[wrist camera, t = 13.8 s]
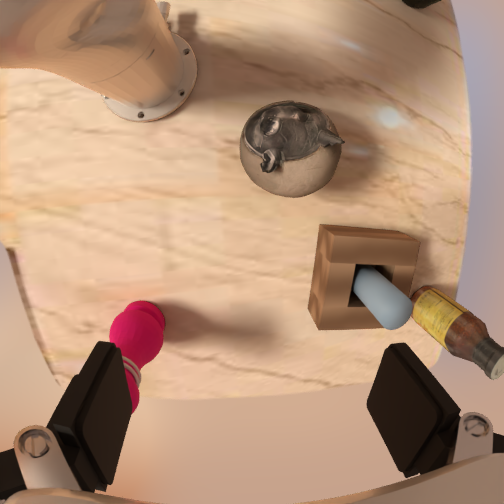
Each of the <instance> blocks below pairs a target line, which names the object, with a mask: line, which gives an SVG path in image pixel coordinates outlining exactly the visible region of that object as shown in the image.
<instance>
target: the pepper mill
mask: <svg viewBox="0 0 504 504" xmlns="http://www.w3.org/2000/svg"><path fill="white" fill-rule="evenodd" d="M164 327H165V319H164V316H163V314H162V313H161V311H160V310H159V309H158V308H157V307H156V306H155V305H153V304H151V303H149V302H145V301H136V302H133V303H131V304H129V305H128V306H127V307H126V309H125V310H124V312H122V313H120V314H119V315H118V316H117V317H116V318H115V319H114V321H113V323H112V325H111V328H110V335H109V338H110V342H112V343H115V345H116V347H119V348H120V349H121V353H122V358H123V363H124V368H125V373H126V378H127V383H128V387H129V391H130V396H131V400H132V406H133V407H132V413H133V412H134V411H135V409H136V408H137V406H138V403H139V390H138V388H139V384H140V382H141V373H140V370H141V368H142V367H143V366H144V365H145V364H147V363H148V362H150V361H152V360H153V359H154V358H155V357H156V356H157V354H158V353H159V351H160V349H161V347H162V345H163V331H164Z"/></svg>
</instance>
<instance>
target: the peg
mask: <svg viewBox="0 0 504 504" xmlns="http://www.w3.org/2000/svg"><path fill="white" fill-rule="evenodd" d="M351 289H352V290H353V292H354V293H355V294H356V295H357V296H358V297H359V299H360V300H361V301H362V302H363V303H364V304H365V306H366V307H367V308H368V309H369V310H370V312H371V313H372V314H373V315H374V316H375V318H376V319H377V320H378V321H379V322H380V324H381V325H382V326H383V327H384V328H386V329H388V330H394V329H397V328H399V327H401V326H403V325H404V324H405V323H406V322H407V321H408V319H409V318H410V316H411V313H412V309H413V306H412V302H411V300H410V299H409V298H408V297H407V296H406V295H405V294H404V293H402V292H401V291H400V290H399V289H398V288H397V287H395V286H394V285H393V284H392V283H391V282H390V281H389V280H387V279H386V278H385V277H384V276H383V275H382V274H380V273H379V272H378V271H377V270H376V269H374V268H373V267H372V266H371V265H370V264H356V265H355V270H354V276H353V281H352V287H351Z"/></svg>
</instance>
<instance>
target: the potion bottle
mask: <svg viewBox="0 0 504 504" xmlns="http://www.w3.org/2000/svg"><path fill="white" fill-rule="evenodd" d="M402 1H403V2H404V3H406V4H407V5H409V6H411V7H414V8H417V9H420V8H425V7H427V6H429V5H431V4H434V3H436V2H438V1H441V0H402Z"/></svg>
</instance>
